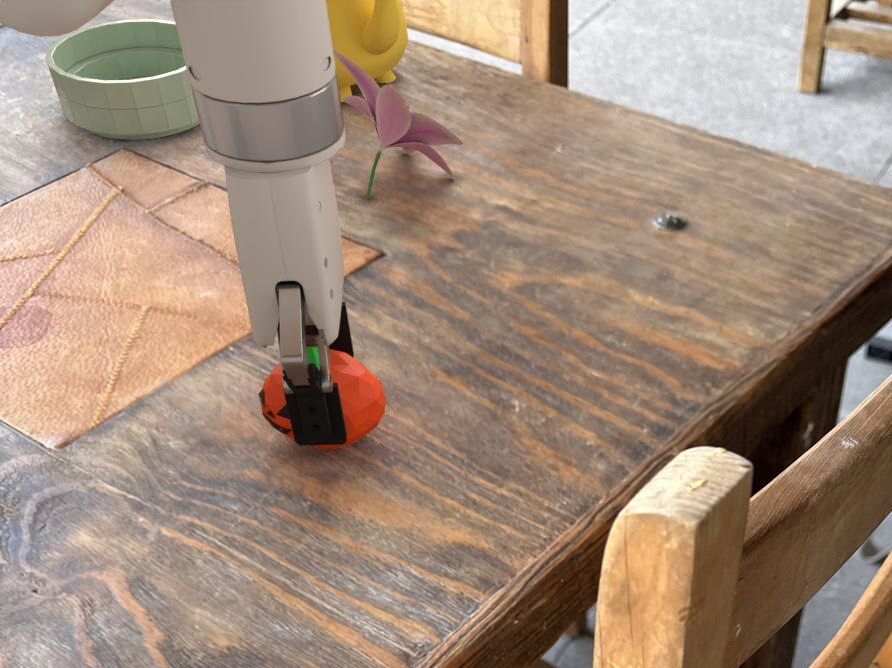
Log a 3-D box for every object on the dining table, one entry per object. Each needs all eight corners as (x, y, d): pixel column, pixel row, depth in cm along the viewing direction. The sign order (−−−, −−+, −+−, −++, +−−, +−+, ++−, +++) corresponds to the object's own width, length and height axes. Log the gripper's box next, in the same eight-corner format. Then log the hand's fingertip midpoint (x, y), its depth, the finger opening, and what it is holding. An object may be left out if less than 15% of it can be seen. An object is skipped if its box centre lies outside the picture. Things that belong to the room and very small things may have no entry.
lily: (470, 227, 97) (494, 98, 93) (333, 189, 91) (352, 49, 87) (424, 212, 106) (444, 93, 102) (296, 176, 100) (312, 49, 96)
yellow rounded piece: (266, 116, 107) (236, -35, 97) (272, 54, 115) (245, -91, 106) (417, 110, 108) (402, -40, 98) (412, 49, 116) (398, -95, 107)
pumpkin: (370, 475, 75) (355, 386, 69) (254, 455, 76) (232, 366, 70) (406, 412, 79) (395, 323, 74) (297, 394, 80) (278, 306, 75)
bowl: (51, 146, 102) (30, 84, 98) (81, 79, 111) (63, 20, 107) (214, 143, 103) (200, 81, 99) (232, 77, 111) (219, 18, 108)
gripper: (218, 48, 66) (279, 329, 80) (176, 191, 56) (255, 485, 70) (349, 47, 67) (388, 326, 81) (332, 187, 56) (380, 481, 70)
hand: (326, 399), depth 75 cm, fingers open, 8 cm apart
